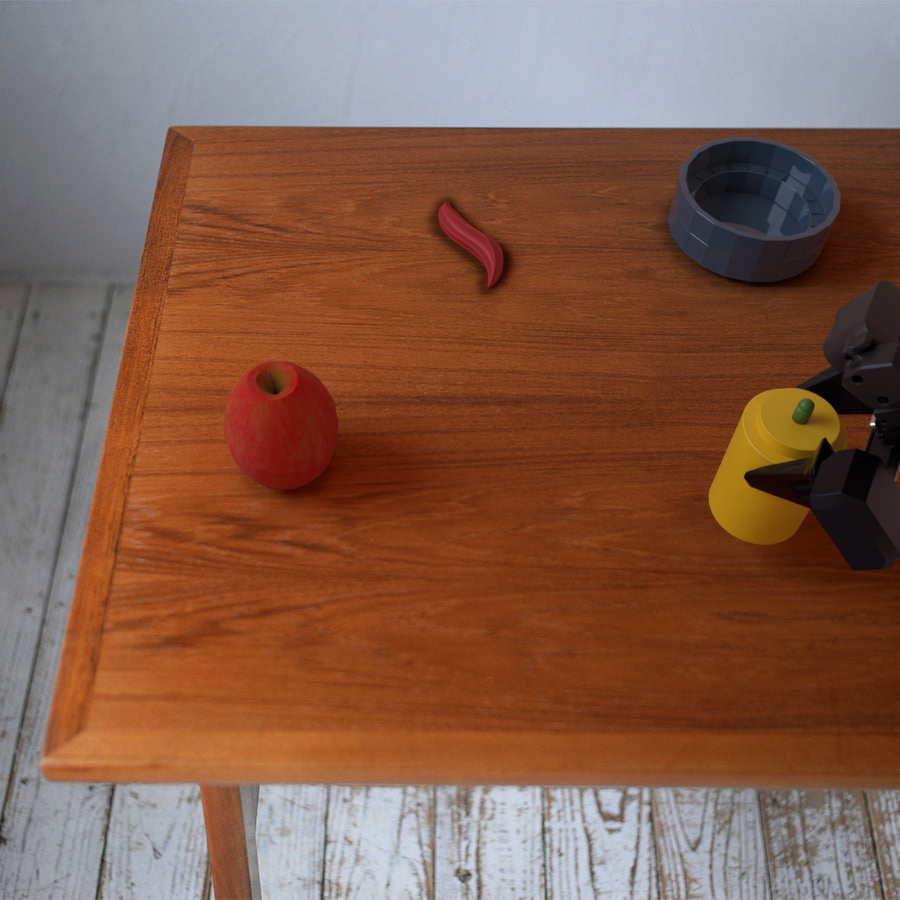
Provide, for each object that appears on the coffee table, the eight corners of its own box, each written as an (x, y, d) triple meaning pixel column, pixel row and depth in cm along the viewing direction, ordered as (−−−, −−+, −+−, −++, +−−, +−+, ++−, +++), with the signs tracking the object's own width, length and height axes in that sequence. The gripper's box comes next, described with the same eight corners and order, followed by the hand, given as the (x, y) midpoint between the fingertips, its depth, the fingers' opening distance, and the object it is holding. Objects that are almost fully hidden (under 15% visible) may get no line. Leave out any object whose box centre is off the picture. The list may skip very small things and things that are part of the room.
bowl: (822, 201, 94) (843, 154, 89) (815, 301, 86) (837, 255, 81) (677, 172, 96) (690, 124, 91) (656, 267, 87) (669, 220, 83)
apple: (313, 405, 77) (301, 311, 68) (361, 480, 73) (354, 389, 64) (217, 446, 74) (191, 353, 66) (261, 526, 70) (240, 438, 62)
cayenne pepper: (513, 284, 86) (515, 268, 84) (462, 292, 85) (463, 276, 83) (479, 197, 92) (481, 181, 91) (432, 203, 92) (433, 187, 90)
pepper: (804, 479, 70) (865, 373, 60) (799, 555, 66) (862, 455, 57) (713, 457, 71) (759, 351, 61) (703, 531, 67) (749, 430, 58)
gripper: (992, 181, 54) (746, 261, 65) (923, 412, 44) (648, 458, 55) (1063, 329, 58) (821, 380, 70) (1016, 570, 48) (742, 582, 60)
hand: (763, 441), depth 63 cm, fingers closed on pepper, 6 cm apart
